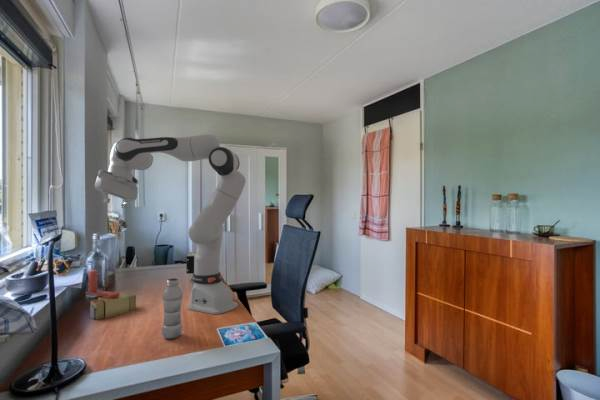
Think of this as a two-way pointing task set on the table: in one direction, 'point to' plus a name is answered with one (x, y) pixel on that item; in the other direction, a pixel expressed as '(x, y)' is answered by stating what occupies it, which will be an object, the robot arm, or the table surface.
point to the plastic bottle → (172, 310)
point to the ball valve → (190, 265)
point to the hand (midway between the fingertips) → (115, 205)
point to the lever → (94, 286)
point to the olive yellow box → (112, 305)
